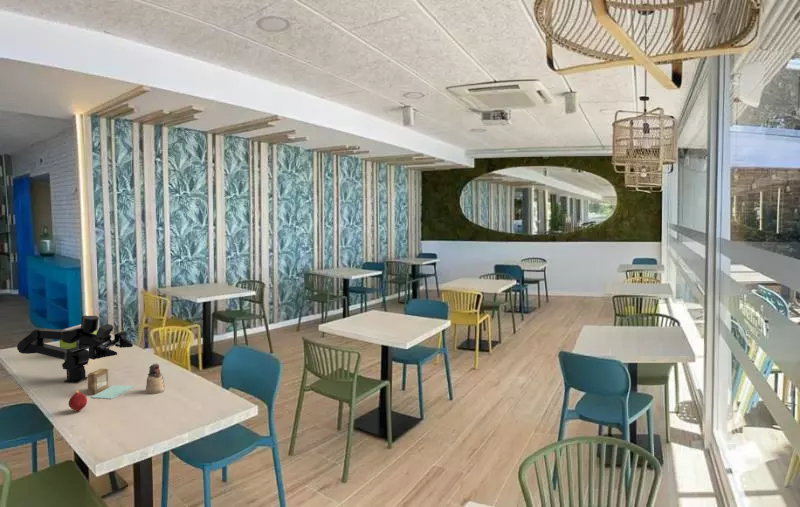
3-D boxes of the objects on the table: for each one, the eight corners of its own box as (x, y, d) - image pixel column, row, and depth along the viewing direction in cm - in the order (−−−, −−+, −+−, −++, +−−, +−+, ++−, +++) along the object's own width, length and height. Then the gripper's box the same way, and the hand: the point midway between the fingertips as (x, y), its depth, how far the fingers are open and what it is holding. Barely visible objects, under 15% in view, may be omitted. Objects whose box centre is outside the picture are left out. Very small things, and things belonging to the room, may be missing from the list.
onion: (90, 409, 187) (90, 389, 186) (76, 415, 182) (75, 394, 181) (79, 407, 189) (79, 387, 188) (65, 413, 183) (64, 392, 183)
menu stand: (88, 394, 202) (87, 373, 201) (101, 388, 210) (101, 367, 209) (95, 395, 202) (94, 374, 201) (108, 388, 210) (107, 368, 209)
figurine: (161, 387, 213) (161, 360, 212) (167, 391, 208) (166, 363, 207) (143, 390, 208) (143, 363, 207) (149, 395, 203) (148, 367, 202)
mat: (90, 397, 199) (90, 396, 199) (113, 385, 212) (113, 385, 212) (111, 399, 198) (111, 398, 198) (133, 387, 212) (133, 386, 212)
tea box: (82, 350, 265) (81, 323, 264) (99, 351, 263) (98, 324, 262) (59, 358, 250) (58, 329, 249) (76, 359, 249) (76, 331, 247)
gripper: (76, 331, 204) (109, 340, 202) (111, 317, 222) (141, 325, 220) (76, 355, 207) (107, 364, 204) (109, 339, 225) (139, 348, 222)
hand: (124, 349), depth 213 cm, fingers open, 9 cm apart
